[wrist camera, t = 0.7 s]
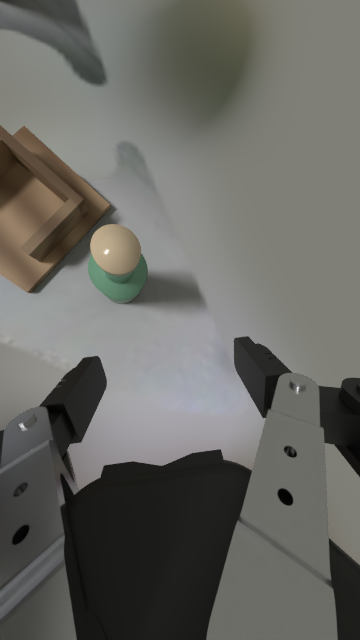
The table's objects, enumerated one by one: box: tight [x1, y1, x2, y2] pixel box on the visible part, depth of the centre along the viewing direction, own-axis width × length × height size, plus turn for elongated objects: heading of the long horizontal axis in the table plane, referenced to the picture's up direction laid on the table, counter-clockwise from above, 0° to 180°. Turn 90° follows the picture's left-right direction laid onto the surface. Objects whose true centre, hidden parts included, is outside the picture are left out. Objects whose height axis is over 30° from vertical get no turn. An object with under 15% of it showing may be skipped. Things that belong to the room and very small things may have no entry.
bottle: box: [88, 224, 148, 304], centre depth 21 cm, size 6×6×19 cm
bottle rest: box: [0, 126, 110, 293], centre depth 24 cm, size 18×14×4 cm
